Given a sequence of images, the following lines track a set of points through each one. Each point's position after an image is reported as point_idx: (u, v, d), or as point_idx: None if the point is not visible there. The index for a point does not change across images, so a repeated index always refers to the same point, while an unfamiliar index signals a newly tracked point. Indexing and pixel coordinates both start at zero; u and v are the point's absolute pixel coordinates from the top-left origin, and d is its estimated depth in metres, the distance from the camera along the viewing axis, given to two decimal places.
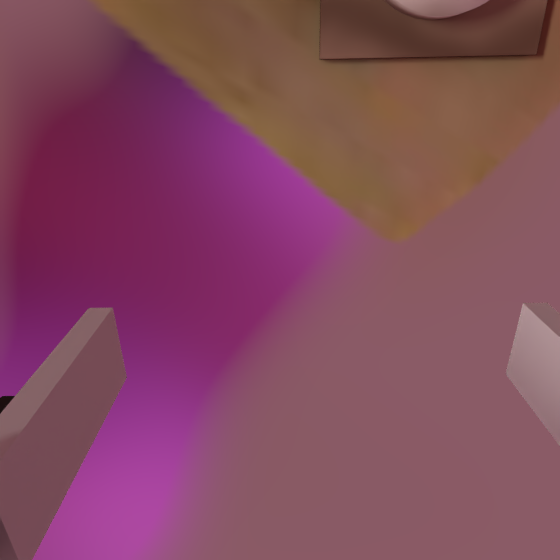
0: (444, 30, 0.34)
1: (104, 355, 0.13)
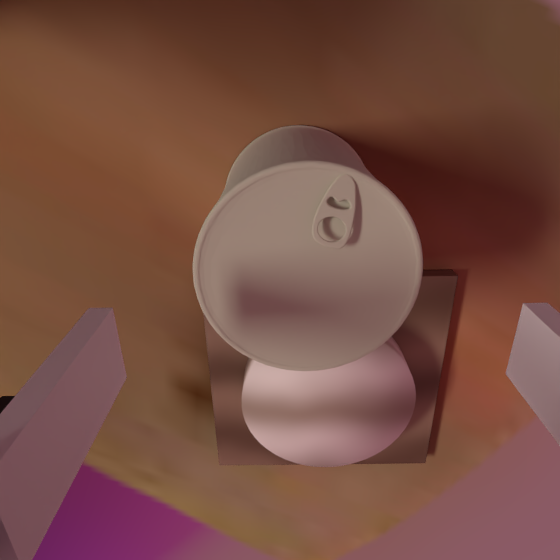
0: None
1: (104, 355, 0.13)
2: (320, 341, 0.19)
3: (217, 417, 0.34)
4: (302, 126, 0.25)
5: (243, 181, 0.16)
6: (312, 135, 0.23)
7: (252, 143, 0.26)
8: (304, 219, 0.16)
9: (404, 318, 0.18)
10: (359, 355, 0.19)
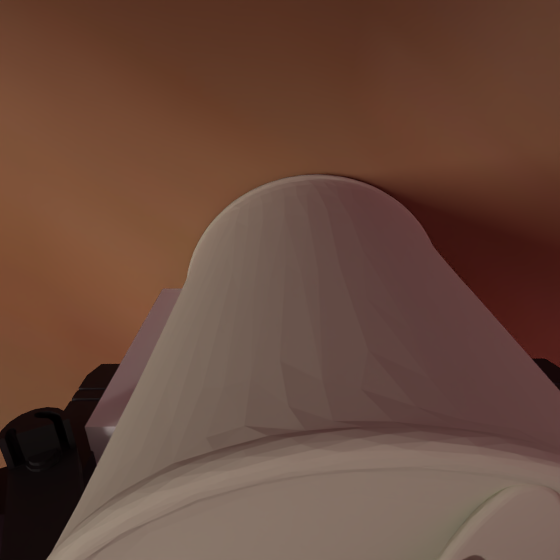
0: None
1: None
2: None
3: None
4: (322, 177, 0.14)
5: (144, 498, 0.04)
6: (346, 205, 0.12)
7: (231, 207, 0.14)
8: None
9: None
10: None
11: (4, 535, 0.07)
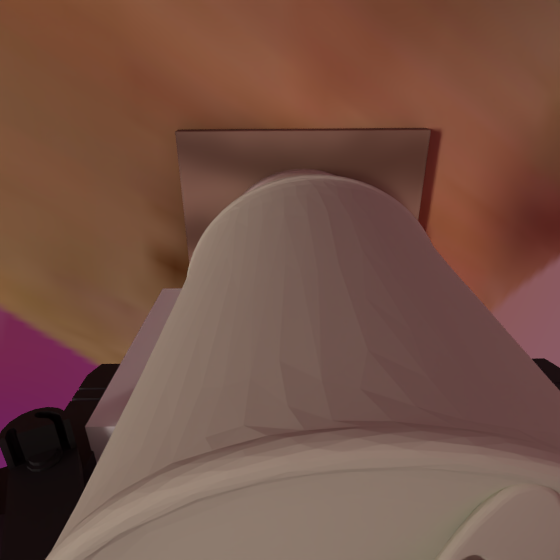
0: None
1: None
2: None
3: None
4: (322, 177, 0.14)
5: (143, 499, 0.04)
6: (346, 205, 0.11)
7: (231, 207, 0.14)
8: None
9: None
10: None
11: (4, 535, 0.07)
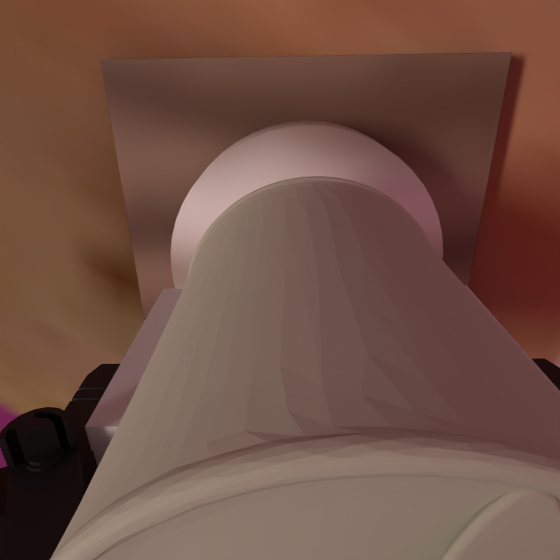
0: None
1: None
2: None
3: (146, 309, 0.23)
4: (322, 179, 0.14)
5: (144, 504, 0.04)
6: (346, 207, 0.12)
7: (231, 209, 0.14)
8: None
9: None
10: None
11: (4, 535, 0.07)
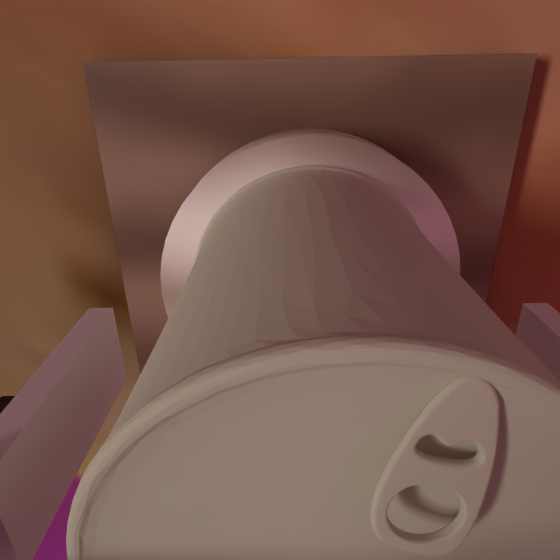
0: None
1: (104, 355, 0.13)
2: None
3: (136, 330, 0.21)
4: (319, 168, 0.15)
5: (178, 392, 0.06)
6: (340, 191, 0.13)
7: (236, 195, 0.16)
8: (346, 472, 0.06)
9: None
10: None
11: None
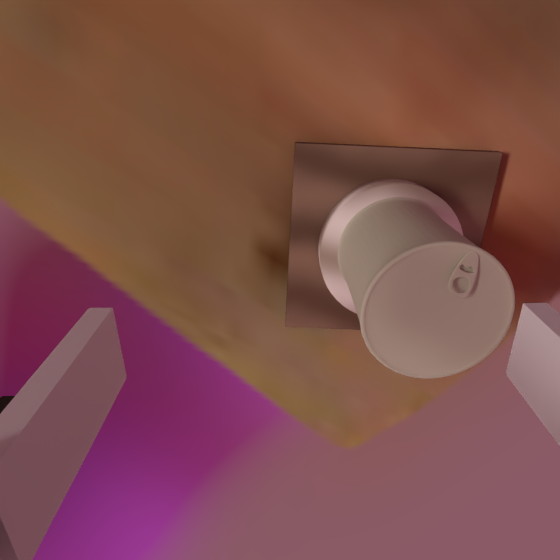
0: None
1: (104, 355, 0.13)
2: (437, 358, 0.27)
3: (290, 277, 0.40)
4: (405, 198, 0.34)
5: (407, 251, 0.24)
6: (419, 209, 0.32)
7: (366, 208, 0.35)
8: (441, 277, 0.25)
9: (497, 345, 0.27)
10: (462, 369, 0.27)
11: None
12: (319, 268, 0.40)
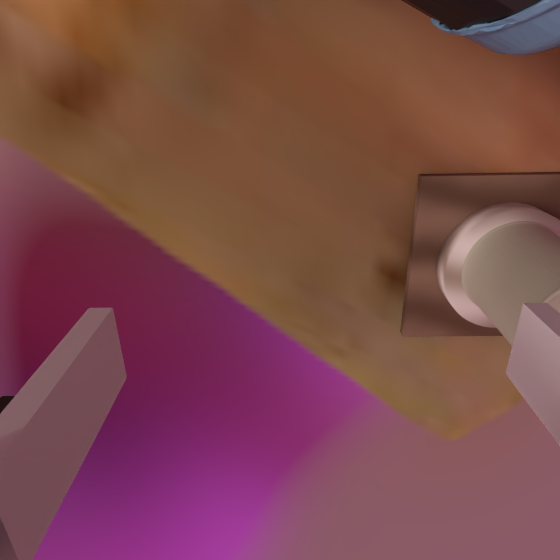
0: None
1: (104, 355, 0.13)
2: None
3: (409, 293, 0.44)
4: (527, 222, 0.38)
5: None
6: (548, 234, 0.36)
7: (491, 233, 0.39)
8: None
9: None
10: None
11: None
12: (436, 284, 0.44)
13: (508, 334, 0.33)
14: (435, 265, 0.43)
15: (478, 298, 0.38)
